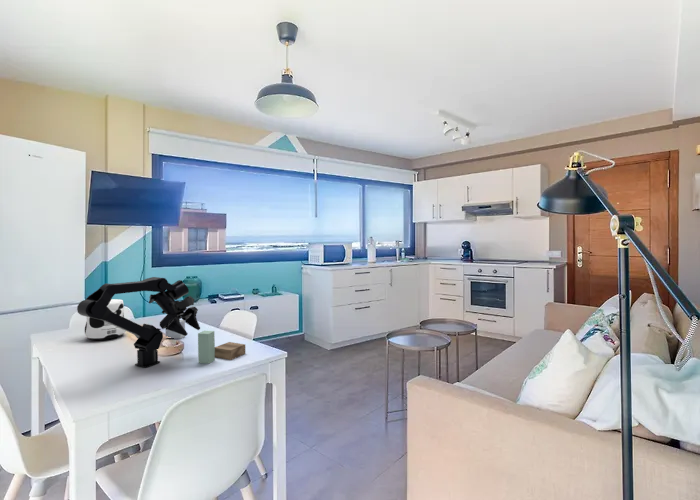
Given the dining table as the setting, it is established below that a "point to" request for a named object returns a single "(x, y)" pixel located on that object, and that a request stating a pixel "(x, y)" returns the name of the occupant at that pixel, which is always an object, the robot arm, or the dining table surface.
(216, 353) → the walnut block
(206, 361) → the tall green block
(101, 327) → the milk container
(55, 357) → the dining table surface
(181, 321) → the medicine box
